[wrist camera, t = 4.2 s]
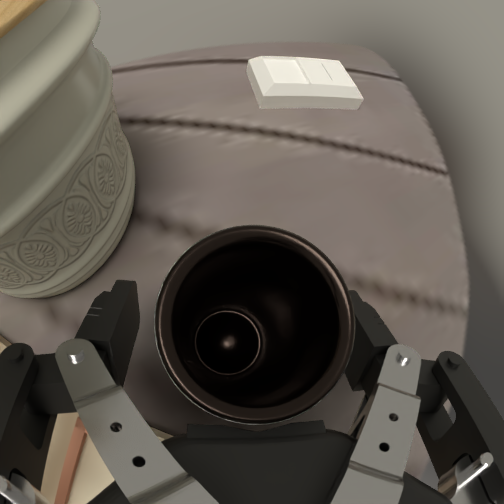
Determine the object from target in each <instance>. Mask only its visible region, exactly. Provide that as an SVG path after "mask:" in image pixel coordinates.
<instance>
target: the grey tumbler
mask: <svg viewBox="0 0 504 504" xmlns="http://www.w3.org/2000/svg"><path fill="white" fill-rule="evenodd" d="M154 333H155V340H156V346H157V349H158V353H159V356H160V359H161V361H162V364H163V366H164V368H165V370H166V372H167V373H168V375H169V377H170V378H171V380H172V381H173V383H174V384H175V385H176V387H177V388H178V389H179V390H180V391H181V392H182V393H183V394H184V395H185V396H186V397H187V398H188V399H189V400H190V401H191V402H192V403H194V404H195V405H197V406H198V407H199V408H201V409H203V410H204V411H206V412H208V413H210V414H212V415H214V416H216V417H219V418H221V419H224V420H227V421H231V422H235V423H241V424H250V425H263V424H272V423H277V422H281V421H285V420H288V419H291V418H293V417H296V416H298V415H300V414H302V413H304V412H306V411H307V410H309V409H311V408H312V407H314V406H315V405H316V404H318V403H319V402H320V401H321V400H322V399H323V398H325V397H326V396H327V395H328V394H329V392H330V391H331V390H332V389H333V388H334V387H335V385H336V384H337V383H338V381H339V379H340V378H341V376H342V375H343V373H344V371H345V369H346V367H347V364H348V362H349V359H350V356H351V353H352V349H353V344H354V338H355V315H354V308H353V303H352V300H351V296H350V293H349V290H348V288H347V286H346V283H345V281H344V280H343V278H342V276H341V274H340V273H339V271H338V270H337V268H336V267H335V265H334V264H333V263H332V262H331V261H330V259H329V258H328V257H327V256H326V255H325V254H324V253H323V252H322V251H321V250H319V249H318V248H317V247H316V246H314V245H313V244H312V243H310V242H309V241H307V240H306V239H304V238H302V237H300V236H298V235H296V234H294V233H291V232H289V231H286V230H283V229H280V228H275V227H271V226H264V225H242V226H235V227H231V228H227V229H223V230H220V231H218V232H215V233H212V234H210V235H208V236H206V237H205V238H203V239H201V240H199V241H198V242H196V243H195V244H194V245H192V246H191V247H190V248H189V249H187V250H186V251H185V252H184V253H183V254H182V255H181V256H180V257H179V258H178V260H177V261H176V262H175V263H174V265H173V266H172V267H171V269H170V270H169V272H168V274H167V275H166V277H165V279H164V281H163V283H162V286H161V288H160V291H159V294H158V297H157V302H156V306H155V314H154Z"/></svg>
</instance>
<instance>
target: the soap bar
mask: <svg viewBox="0 0 504 504" xmlns="http://www.w3.org/2000/svg"><path fill="white" fill-rule="evenodd" d="M246 73H247V76H248V78H249V81H250V84H251V86H252V89H253V92H254V94H255V97H256V100H257V102H258V105H259V108H260V109H278V108H328V109H352V110H358V108H359V106H360V105H361V103H362V101H363V100H364V99H363V97H362V95H361V93H360V92H359V90H358V88H357V87H356V85H355V84H354V82H353V81H352V79H351V78H350V76H349V75H348V73H347V72H346V70H345V69H344V67H343V66H342V64H341V63H340V61H336V60H326V59H316V58H302V57H283V56H260V57H256V58H253V59H250V60H248V65H247V70H246Z"/></svg>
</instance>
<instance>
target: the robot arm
mask: <svg viewBox="0 0 504 504" xmlns="http://www.w3.org/2000/svg"><path fill="white" fill-rule="evenodd" d="M349 293H350V296H351V300H352V303H353V308H354V315H355V338H354V344H353V349H352V353H351V356H350V359H349V362H348V364H347V367H346V369H345V371H344V372H345V374H346V377H347V379H348V381H349V384H350V386H351V388H352V391H360V390H364V391H365V395H364V397H363V399H362V401H361V404H360V406H359V408H358V411H357V413H356V416H355V418H354V420H353V422H352V425H351V427H350V429H349V431H348V433H347V434H344V433H342V432H338V431H335V430H330V429H325V426H324V422H323V420H318V421H309V422H298V423H290V424H287V425H284V426H280V427H277V428H273V429H270V430H266V431H262V432H253V431H248V430H242V429H237V428H232V427H228V426H223V425H194V424H188V426H187V433H186V434H181V435H177V436H173V437H171V438H168V439H165V440H163V441H160V440H159V439H158V438H157V436H156V435H155V434H154V432H153V431H152V430H151V428H150V427H149V426H148V424H147V423H146V421H145V420H144V419H143V417H142V416H141V414H140V413H139V412H138V410H137V409H136V407H135V406H134V404H133V403H132V401H131V400H130V398H129V397H128V395H127V394H126V392H125V391H124V389H123V385H124V381H125V377H126V373H127V369H128V365H129V362H130V358H131V354H132V350H133V347H134V343H135V340H136V336H137V333H138V329H139V323H140V312H139V303H138V293H137V284H136V282H135V281H127V280H116V282H115V284H114V286H113V288H112V290H111V292H107V291H104V292H102V293H101V294H100V295H99V296H97V297H96V298H95V299H94V301H93V303H92V305H91V308H90V309H89V311H88V313H87V315H86V316H85V318H84V320H83V322H82V324H81V326H80V328H79V330H78V332H77V334H76V336H75V338H74V339H71V340H68V341H66V342H64V343H62V344H61V345H60V346H59V347H58V348H57V350H56V353H53V354H42V355H35V354H34V352H33V350H32V348H31V347H30V346H29V345H27V344H24V343H16V344H12V345H10V346H8V347H6V348H5V349H4V350H3V351H2V352H1V354H0V504H50V503H49V501H48V499H47V498H46V497H45V496H44V494H42V493H41V486H42V480H43V475H44V470H45V465H46V460H47V456H48V451H49V447H50V443H51V438H52V434H53V430H54V427H55V423H56V419H57V415H58V414H63V413H75V412H78V414H79V416H80V419H81V421H82V423H83V425H84V427H85V429H86V431H87V432H88V434H89V436H90V438H91V440H92V442H93V444H94V446H95V447H96V449H97V451H98V453H99V455H100V456H101V458H102V460H103V461H104V463H105V465H106V466H107V468H108V470H109V471H110V473H111V475H112V476H113V478H114V479H115V480H114V481H113V482H112V483H111V484H110V485H109V486H107V487H106V488H105V489H104V490H103V491H101V492H100V493H99V494H98V495H97V496H95V497H94V498H93V499H92V500H90V501H89V502H88V503H87V504H504V420H503V419H502V417H501V415H500V414H499V412H498V410H497V409H496V407H495V405H494V404H493V402H492V401H491V399H490V397H489V396H488V394H487V393H486V391H485V390H484V388H483V387H482V385H481V384H480V382H479V381H478V379H477V378H476V376H475V375H474V373H473V372H472V370H471V369H470V367H469V366H468V365H467V363H466V362H465V360H464V359H463V358H462V357H461V356H460V355H458V354H456V353H454V352H451V351H444V352H441V353H440V354H439V356H438V358H437V359H436V361H431V360H423V359H421V358H420V356H419V354H418V353H417V352H416V351H415V350H414V349H412V348H411V347H408V346H406V345H402V344H398V343H397V341H396V340H395V338H394V337H393V335H392V334H391V332H390V331H389V329H388V328H387V326H386V325H384V322H383V320H382V319H381V318H380V316H379V315H378V313H377V312H376V310H375V309H374V308H373V307H372V306H370V305H369V304H368V303H366V302H363V301H362V299H361V298H360V296H359V295H358V293H357V292H356V291H355V290H349ZM447 399H449V401H450V402H451V404H452V406H453V408H454V410H455V412H456V420H455V422H454V424H453V423H452V421H451V419H450V417H449V415H448V413H447V411H446V410H445V408H444V406H443V404H444V403H445V402H446V400H447ZM415 426H417V428H418V431H419V433H420V435H421V437H422V440H423V442H424V444H425V447H426V449H427V451H428V454H429V456H430V459H431V461H432V464H433V466H434V468H435V471H436V473H437V476H438V478H439V482H438V491H437V490H435V489H433V488H431V487H430V486H428V485H426V484H425V483H423V482H421V481H420V480H418V479H416V478H415V477H413V476H411V475H410V474H408V473H407V472H405V471H404V470H405V466H406V463H407V459H408V455H409V451H410V448H411V444H412V439H413V435H414V431H415Z"/></svg>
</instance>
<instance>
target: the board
mask: <svg viewBox="0 0 504 504" xmlns="http://www.w3.org/2000/svg"><path fill="white" fill-rule="evenodd" d="M10 345H12V344H11V343H10V342H8V341H7V340H6V339H5V338H3V337H2V336H1V335H0V354H1V352H2V351H3V350H4V349H5V348H6V347H8V346H10ZM149 427H150V426H149ZM150 428H151V430H152V431H153V432H154V434H155V435H156V436H157V438H158V439H159V440H160V441H163V440H165V439H168V438H171V437H173V436H172V435H169V434H167V433H164V432H162V431H160V430H157V429H155V428H153V427H150ZM114 480H115V479H114V478H113V476H112V475H111V473H110V471H109V470H108V468H107V466H106V465H105V463H104V461H103V460H102V458H101V456H100V455H99V453H98V451H97V449H96V447H95V446H94V444H93V442H92V440H91V438H90V436H89V434H88V432H87V431H86V429H85V427H84V425H83V423H82V421H81V419H80V416H79V414H78V412H75V413H63V414H58V415H57V419H56V423H55V427H54V430H53V434H52V438H51V443H50V447H49V451H48V456H47V460H46V465H45V470H44V475H43V480H42V486H41V493H42V494H44V496H45V497H46V498H47V499H48V501H49V503H50V504H87V503H88V502H89V501H90V500H92V499H93V498H94V497H95V496H97V495H98V494H99V493H100V492H101V491H103V490H104V489H105V488H106V487H107V486H109V485H110V484H111V483H112V482H113V481H114Z"/></svg>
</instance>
